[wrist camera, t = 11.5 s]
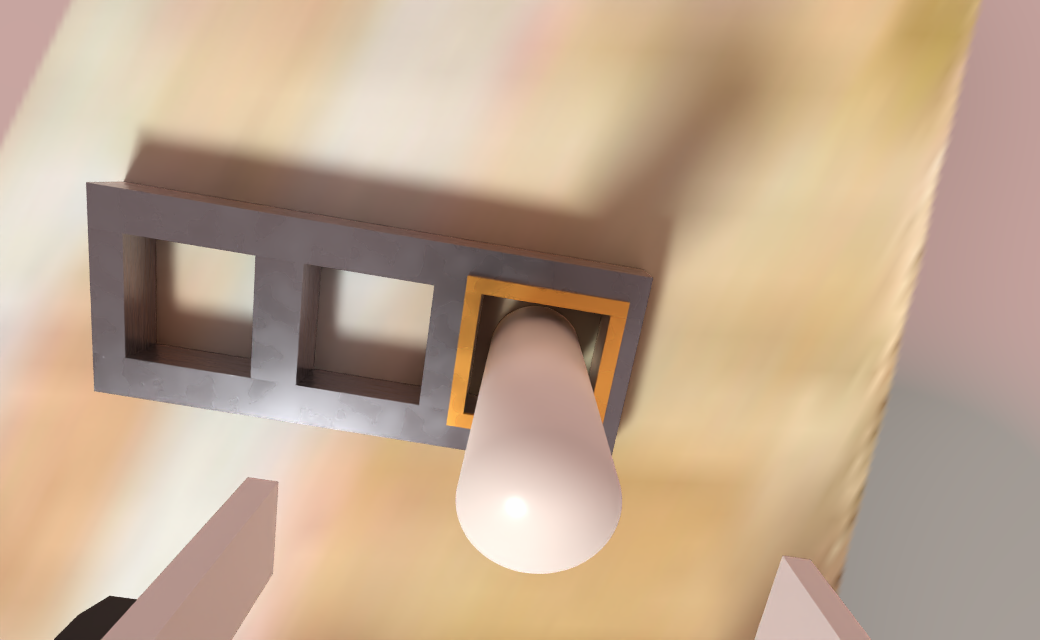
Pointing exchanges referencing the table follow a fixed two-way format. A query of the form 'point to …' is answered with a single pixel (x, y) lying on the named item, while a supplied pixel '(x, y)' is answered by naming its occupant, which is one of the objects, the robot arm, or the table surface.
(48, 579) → the table surface
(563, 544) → the pin
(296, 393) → the rail
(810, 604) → the robot arm
